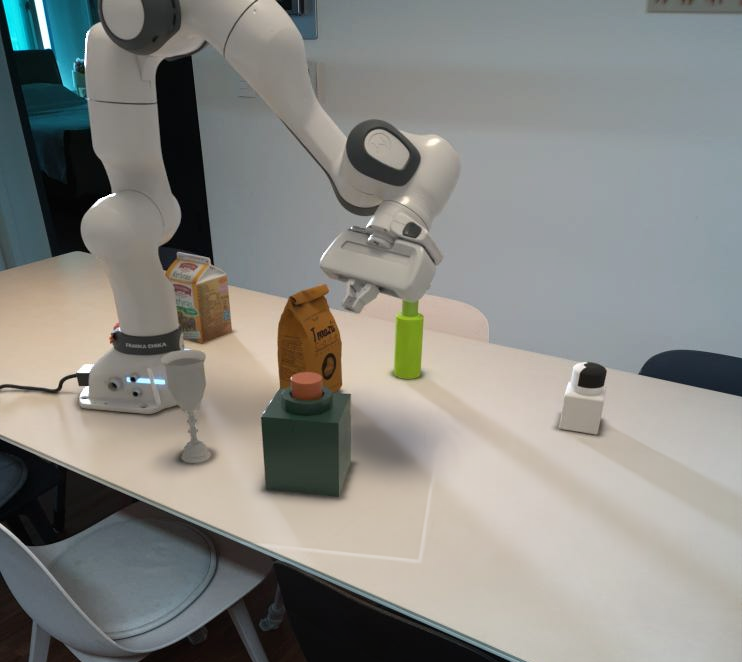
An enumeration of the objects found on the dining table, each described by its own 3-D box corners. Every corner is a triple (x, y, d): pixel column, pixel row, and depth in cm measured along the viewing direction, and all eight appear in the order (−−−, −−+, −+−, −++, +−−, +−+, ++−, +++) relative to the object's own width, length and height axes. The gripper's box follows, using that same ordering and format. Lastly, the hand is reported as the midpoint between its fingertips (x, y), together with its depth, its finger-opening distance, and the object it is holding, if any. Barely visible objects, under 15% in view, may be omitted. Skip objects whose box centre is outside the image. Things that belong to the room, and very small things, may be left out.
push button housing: (265, 489, 116) (259, 404, 108) (282, 457, 125) (278, 376, 117) (339, 496, 115) (338, 410, 107) (350, 463, 124) (351, 382, 116)
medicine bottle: (599, 420, 141) (611, 361, 134) (597, 435, 135) (609, 375, 129) (562, 414, 143) (572, 356, 136) (558, 429, 137) (568, 369, 130)
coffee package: (349, 392, 150) (350, 286, 138) (309, 412, 141) (306, 300, 130) (314, 380, 155) (311, 277, 143) (273, 398, 146) (266, 290, 135)
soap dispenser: (423, 380, 156) (428, 288, 145) (391, 377, 157) (394, 285, 147) (426, 370, 161) (432, 280, 150) (396, 367, 162) (399, 278, 151)
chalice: (195, 470, 121) (182, 369, 112) (166, 459, 124) (151, 360, 115) (225, 452, 126) (215, 355, 117) (196, 442, 129) (184, 346, 120)
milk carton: (232, 331, 181) (225, 253, 171) (202, 343, 173) (193, 262, 163) (201, 323, 186) (192, 247, 176) (170, 335, 178) (160, 256, 168)
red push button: (288, 400, 111) (287, 382, 109) (295, 388, 115) (295, 370, 113) (319, 402, 110) (318, 384, 108) (325, 390, 114) (324, 373, 113)
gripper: (338, 212, 116) (294, 284, 116) (435, 232, 104) (387, 313, 104) (357, 236, 122) (315, 305, 121) (452, 259, 110) (406, 336, 109)
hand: (349, 309), depth 112 cm, fingers closed
